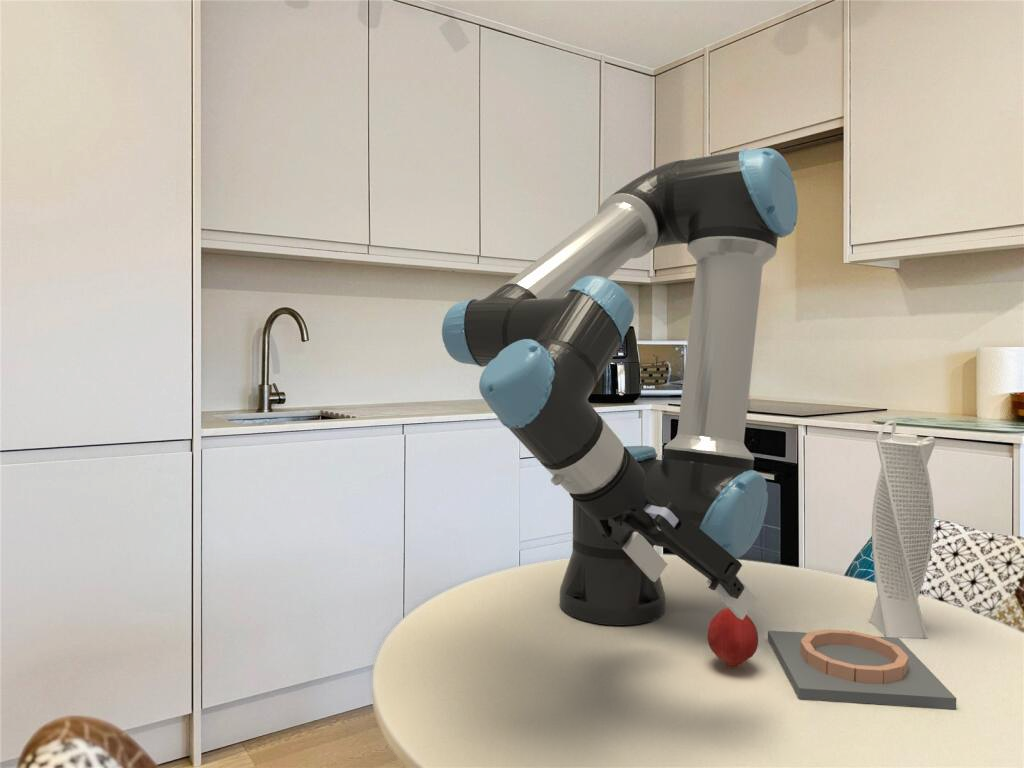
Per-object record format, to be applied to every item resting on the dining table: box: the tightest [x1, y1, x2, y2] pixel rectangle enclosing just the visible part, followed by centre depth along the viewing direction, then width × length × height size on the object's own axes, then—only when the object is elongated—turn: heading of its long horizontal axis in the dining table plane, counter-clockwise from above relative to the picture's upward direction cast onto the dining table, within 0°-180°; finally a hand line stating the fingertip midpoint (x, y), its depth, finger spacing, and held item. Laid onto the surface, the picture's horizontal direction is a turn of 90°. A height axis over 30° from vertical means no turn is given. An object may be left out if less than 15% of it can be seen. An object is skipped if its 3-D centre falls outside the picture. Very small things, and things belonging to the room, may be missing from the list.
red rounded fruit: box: [706, 606, 759, 669], centre depth 89 cm, size 6×6×8 cm
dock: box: [767, 628, 957, 710], centre depth 88 cm, size 16×16×3 cm
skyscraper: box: [868, 419, 936, 639], centre depth 100 cm, size 8×8×28 cm
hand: (700, 589), depth 85 cm, fingers open, 13 cm apart
